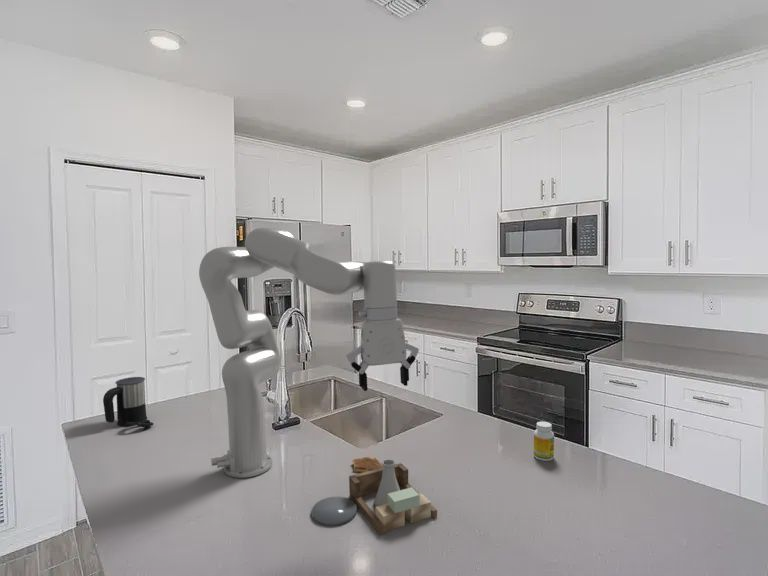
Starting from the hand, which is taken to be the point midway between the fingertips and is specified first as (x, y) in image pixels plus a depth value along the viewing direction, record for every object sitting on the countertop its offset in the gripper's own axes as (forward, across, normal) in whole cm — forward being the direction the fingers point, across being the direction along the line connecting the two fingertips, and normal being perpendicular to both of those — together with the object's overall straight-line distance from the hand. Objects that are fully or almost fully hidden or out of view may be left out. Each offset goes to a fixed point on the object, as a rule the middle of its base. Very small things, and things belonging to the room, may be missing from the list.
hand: (384, 386), depth 105 cm
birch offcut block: (+27, +4, -9) cm, 29 cm away
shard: (+27, 0, +15) cm, 31 cm away
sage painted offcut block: (+24, 0, -10) cm, 26 cm away
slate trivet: (+26, -14, -3) cm, 30 cm away
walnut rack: (+27, -1, -4) cm, 27 cm away
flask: (+27, -1, -3) cm, 27 cm away
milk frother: (+23, -71, +69) cm, 101 cm away
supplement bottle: (+28, +47, +7) cm, 55 cm away
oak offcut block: (+27, -3, -10) cm, 29 cm away
